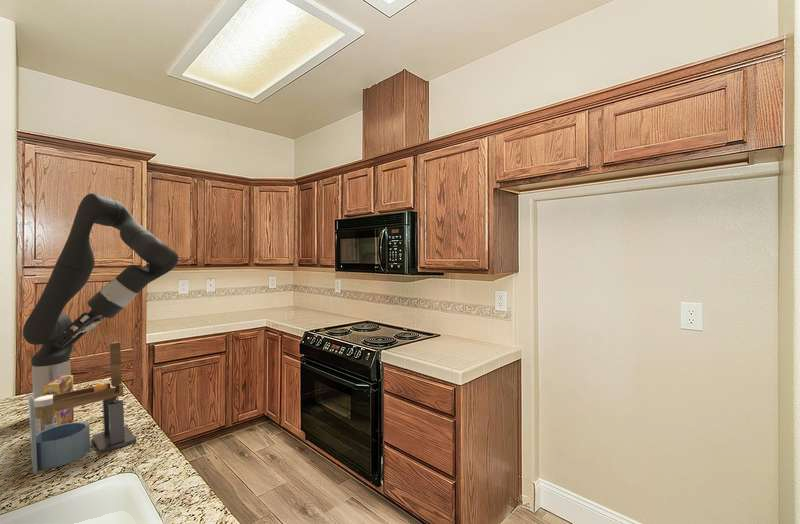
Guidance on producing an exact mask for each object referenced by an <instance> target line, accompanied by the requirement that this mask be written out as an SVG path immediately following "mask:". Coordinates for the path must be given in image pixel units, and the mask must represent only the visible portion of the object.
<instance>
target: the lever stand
mask: <svg viewBox="0 0 800 524" xmlns="http://www.w3.org/2000/svg"><path fill="white" fill-rule="evenodd" d="M112 401H113V402H112ZM112 401H111V400H110V399H106V400H102V418H103V419H102V420H103V421H102V422H103V431H102V432H99V433H95V434H92V435H91V437H92V438H91V439H92V440H93V441H92V442H93V443H94V445H95V447H96V449H97V451H98V453H99V454H102V455H103V454H105V453H107V452H111V451H113V450H118V449H120V448H123V447H127V446H129V445H133V444H134V443H137V438H136V436H135V435H134V434H133V432H132V430H131V429H130V428H129V427H128V425H125V415H124V413H125V411H124V401H123V400H122V399H121V400H120V399H119V397H118V398H113V400H112Z"/></svg>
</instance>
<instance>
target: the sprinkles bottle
mask: <svg viewBox="0 0 800 524" xmlns="http://www.w3.org/2000/svg"><path fill="white" fill-rule="evenodd" d="M34 407H35V428H36V434H37V433H38V432H41V431H43V430H46V429H48V428H51V427H54V426H57V413H56V412H55V409H54V406H53V395H46V396H41V397H38V398H36V399H35V400H34Z"/></svg>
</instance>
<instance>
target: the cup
mask: <svg viewBox="0 0 800 524" xmlns="http://www.w3.org/2000/svg"><path fill="white" fill-rule="evenodd" d="M27 398H28V399H27V400H28V401H27V402H28V418H29V440H30V459H31V467H32V473H33V475H36V474H38V469H39V470H46V469H52V468H53V469H54V468H58V467H60V466H64V465H67V464H70V463H74V462H75V461H78V460H79V459H81V458H83V457H85V456H86V455H87V454H88V453H89V452H90V451H91V435H90V434H91V432H90V425H89V423H88V422H86V421H85V422H83V421H76V422H75V421H74V422H73V423H66V424H62V425H58V426H54V427H51V428H48V429H46V430H43V431H41V432H38V433H37V434H36V427H35V407H34V402H33V395H28V396H27Z"/></svg>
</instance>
